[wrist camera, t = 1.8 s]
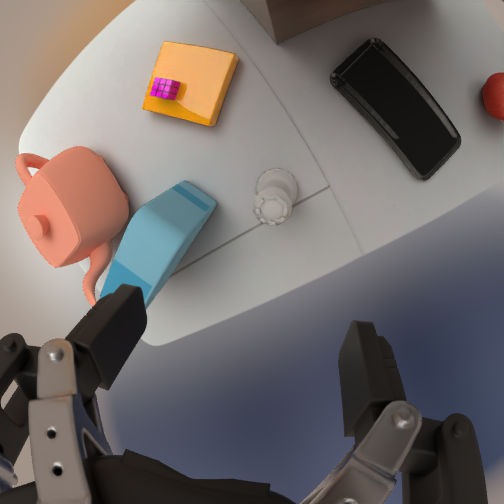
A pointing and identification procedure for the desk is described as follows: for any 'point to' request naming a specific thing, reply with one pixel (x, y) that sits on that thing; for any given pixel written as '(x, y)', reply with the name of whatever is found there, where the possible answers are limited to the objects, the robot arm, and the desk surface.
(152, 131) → the desk surface
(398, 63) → the phone
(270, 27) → the wooden panel
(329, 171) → the desk surface
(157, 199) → the data package
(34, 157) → the teapot
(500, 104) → the apple
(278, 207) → the rook chess piece
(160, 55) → the orange square tile
